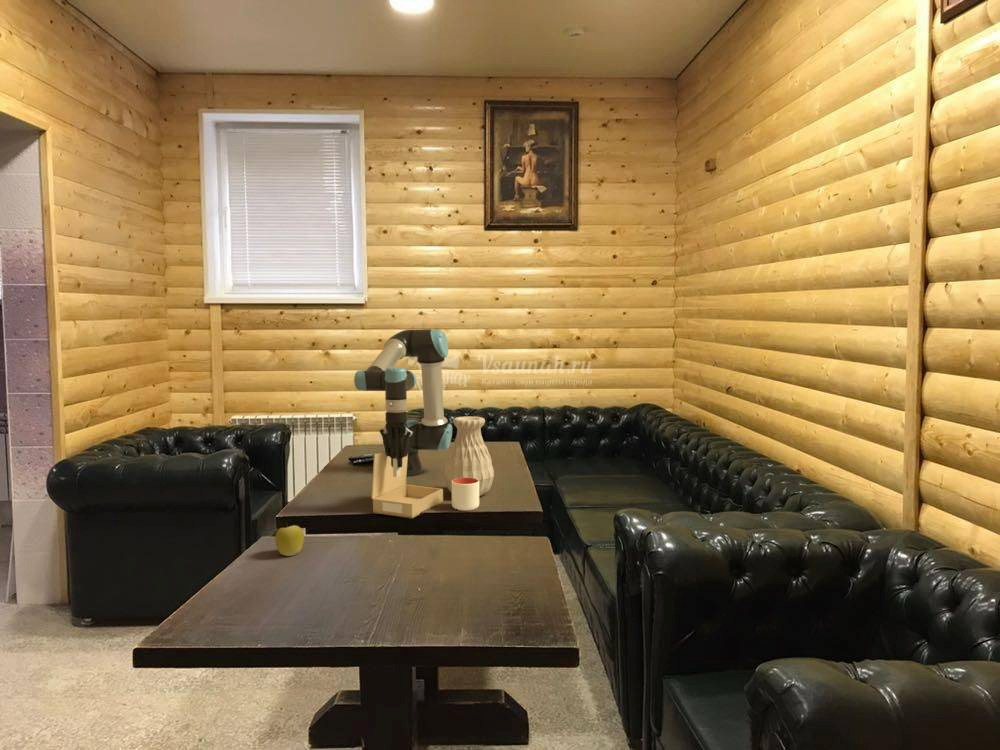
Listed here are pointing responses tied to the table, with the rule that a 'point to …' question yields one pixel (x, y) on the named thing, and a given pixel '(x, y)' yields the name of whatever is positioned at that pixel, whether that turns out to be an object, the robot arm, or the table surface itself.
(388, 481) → the lid
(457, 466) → the vase
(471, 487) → the cup
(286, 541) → the apple
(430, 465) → the table surface
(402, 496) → the box
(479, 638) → the table surface
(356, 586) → the table surface
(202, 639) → the table surface
